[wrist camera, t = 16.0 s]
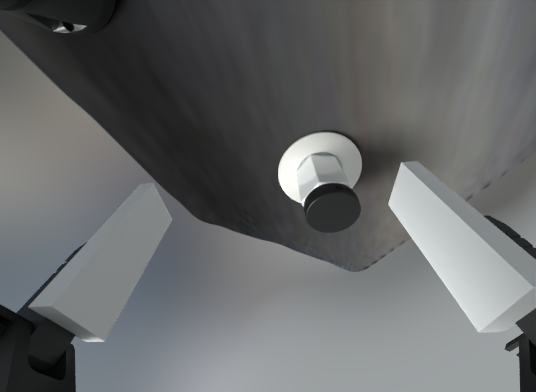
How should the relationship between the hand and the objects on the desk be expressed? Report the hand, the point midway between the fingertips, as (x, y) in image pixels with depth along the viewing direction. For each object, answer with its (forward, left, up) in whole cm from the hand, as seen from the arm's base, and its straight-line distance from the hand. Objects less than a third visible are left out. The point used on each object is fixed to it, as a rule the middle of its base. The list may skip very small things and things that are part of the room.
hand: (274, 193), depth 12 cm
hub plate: (+16, -5, -27) cm, 32 cm away
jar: (+16, -5, -26) cm, 31 cm away
